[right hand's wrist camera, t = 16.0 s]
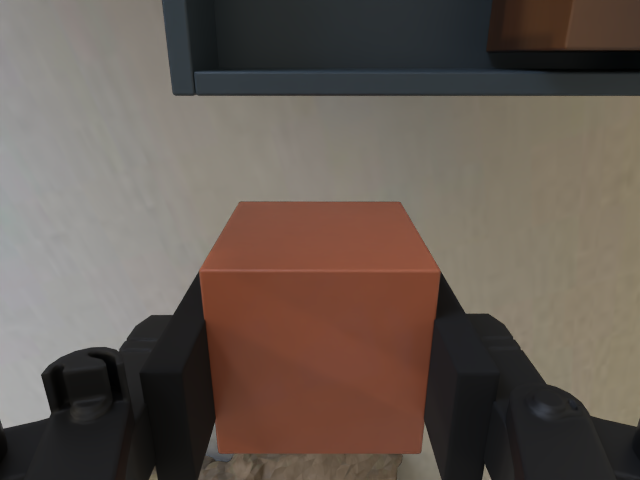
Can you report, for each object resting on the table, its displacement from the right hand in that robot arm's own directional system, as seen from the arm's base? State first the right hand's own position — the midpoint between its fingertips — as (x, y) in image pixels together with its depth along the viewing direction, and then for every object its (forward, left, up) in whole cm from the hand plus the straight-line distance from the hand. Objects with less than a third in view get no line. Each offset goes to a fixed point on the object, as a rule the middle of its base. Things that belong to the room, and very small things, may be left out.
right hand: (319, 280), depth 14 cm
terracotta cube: (0, 0, 0) cm, 0 cm away
